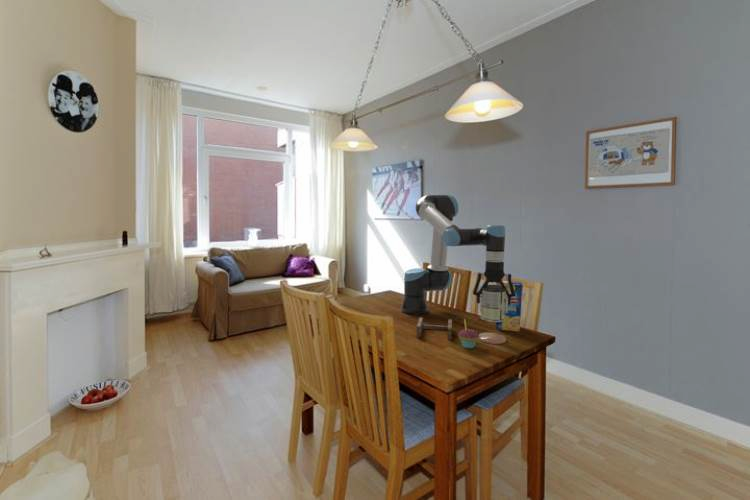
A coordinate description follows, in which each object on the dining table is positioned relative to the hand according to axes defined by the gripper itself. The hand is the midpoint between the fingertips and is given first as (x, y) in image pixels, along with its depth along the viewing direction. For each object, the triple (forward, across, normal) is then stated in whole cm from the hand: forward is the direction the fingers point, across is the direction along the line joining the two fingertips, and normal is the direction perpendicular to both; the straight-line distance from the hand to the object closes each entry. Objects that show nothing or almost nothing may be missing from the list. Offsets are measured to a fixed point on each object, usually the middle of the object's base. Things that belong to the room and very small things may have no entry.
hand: (493, 311), depth 158 cm
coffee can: (+3, 0, 0) cm, 3 cm away
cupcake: (+13, -10, -10) cm, 20 cm away
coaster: (+12, 0, 0) cm, 12 cm away
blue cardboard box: (+13, +9, +17) cm, 23 cm away
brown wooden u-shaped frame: (+12, -25, +2) cm, 28 cm away
